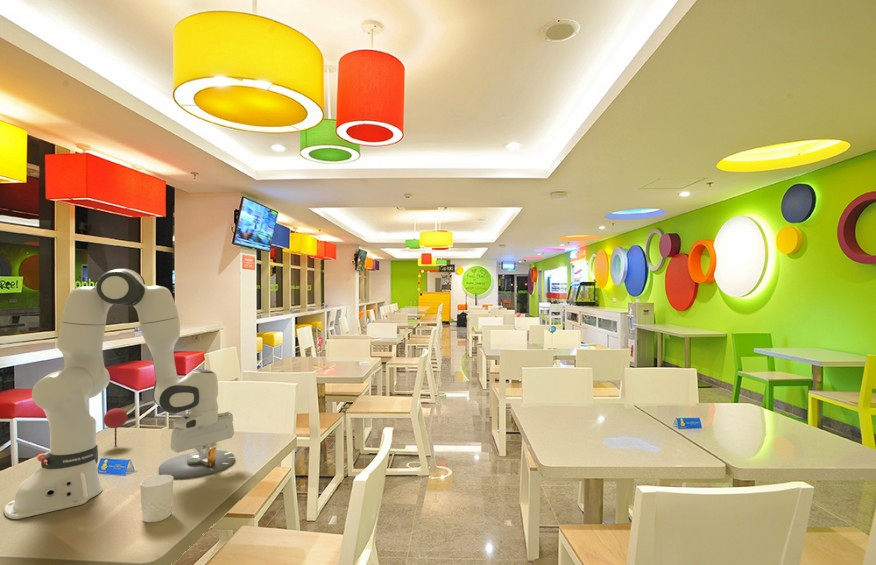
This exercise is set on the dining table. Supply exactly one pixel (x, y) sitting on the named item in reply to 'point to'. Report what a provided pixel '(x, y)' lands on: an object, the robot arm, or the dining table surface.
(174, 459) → the dial plate
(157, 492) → the white cup
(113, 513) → the dining table surface
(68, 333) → the robot arm
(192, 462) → the dial
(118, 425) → the lollipop
